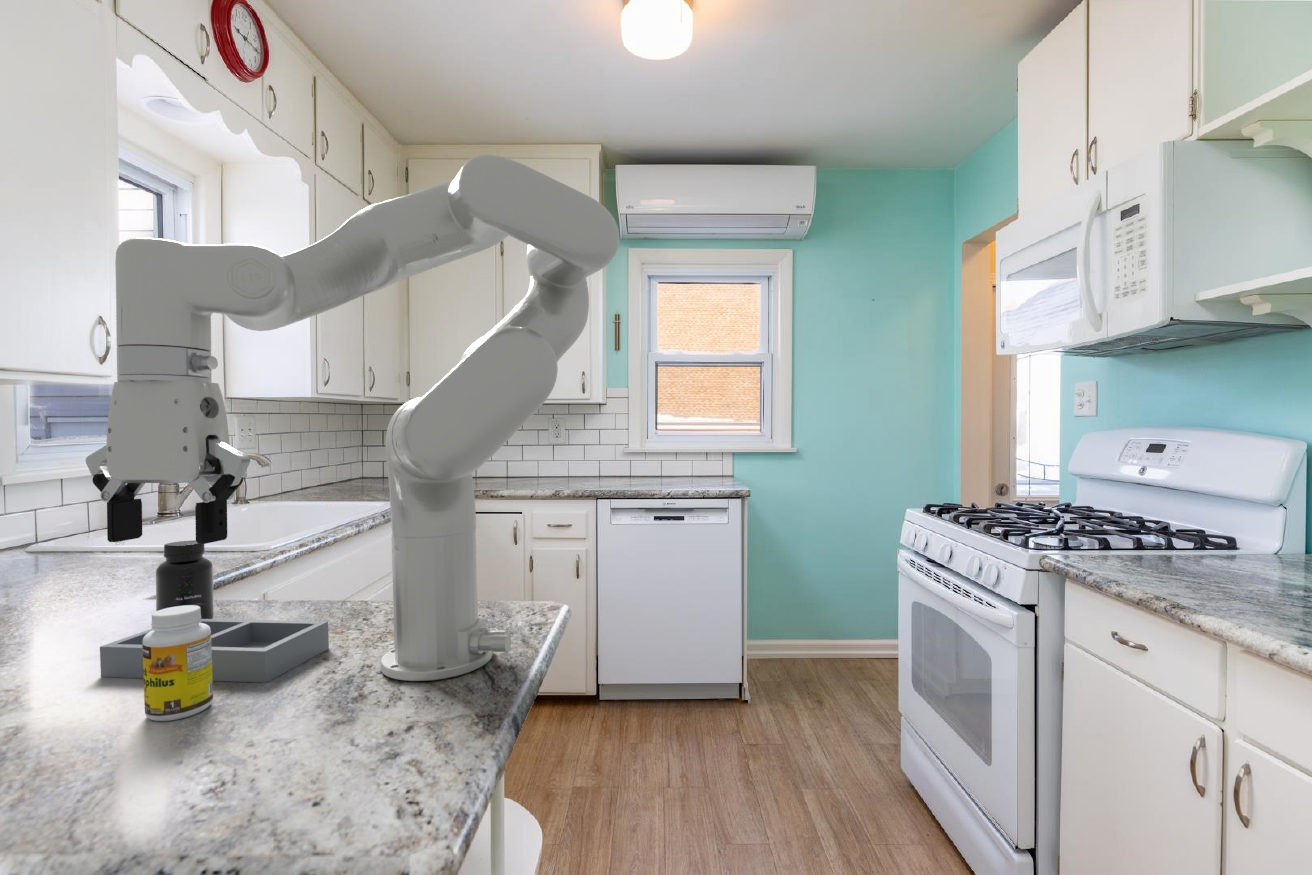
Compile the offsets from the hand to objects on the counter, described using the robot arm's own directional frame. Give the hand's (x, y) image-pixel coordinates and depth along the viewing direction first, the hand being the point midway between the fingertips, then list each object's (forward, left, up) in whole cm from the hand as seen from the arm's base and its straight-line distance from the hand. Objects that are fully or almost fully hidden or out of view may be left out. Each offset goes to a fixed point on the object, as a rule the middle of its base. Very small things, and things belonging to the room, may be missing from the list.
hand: (168, 540), depth 65 cm
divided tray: (+7, -13, -17) cm, 23 cm away
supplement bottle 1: (+25, -27, -17) cm, 41 cm away
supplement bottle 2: (0, 0, -17) cm, 17 cm away
